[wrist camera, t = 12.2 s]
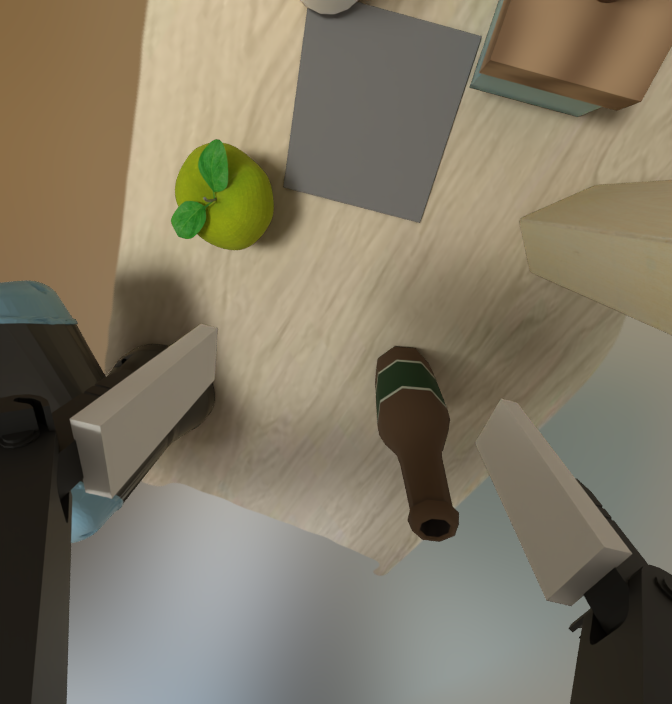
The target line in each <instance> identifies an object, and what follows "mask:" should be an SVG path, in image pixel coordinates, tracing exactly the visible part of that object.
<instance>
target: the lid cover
mask: <svg viewBox="0 0 672 704" xmlns="http://www.w3.org/2000/svg"><path fill="white" fill-rule="evenodd" d="M671 46H672V0H504V1H503V4H502V7H501V10H500V13H499V16H498V19H497V22H496V25H495V28H494V31H493V34H492V36H491V39H490V42H489V45H488V48H487V51H486V54H485V57H484V60H483V63H482V66H481V69H480V71H479V73H481V74H485V75H488V76H492V77H496V78H499V79H503V80H507V81H510V82H514V83H518V84H521V85H525V86H529V87H532V88H536V89H539V90H543V91H547V92H550V93H554V94H558V95H561V96H565V97H569V98H572V99H576V100H580V101H583V102H587V103H591V104H594V105H598V106H602V107H605V108H609V109H612V110H616V111H617V110H620V109H623V108H625V107H628V106H631V105H633V104H636V103H639V102H641V101H642V99H643V97H644V95H645V94H646V92H647V90H648V88H649V86H650V85H651V83H652V81H653V79H654V77H655V75H656V74H657V72H658V70H659V68H660V66H661V64H662V63H663V61H664V59H665V57H666V55H667V54H668V52H669V50H670V48H671Z"/></svg>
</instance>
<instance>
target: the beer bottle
mask: <svg viewBox="0 0 672 704" xmlns="http://www.w3.org/2000/svg"><path fill="white" fill-rule="evenodd" d="M375 388H376V407H377V425H378V431H379V435H380V437H381V439H382V440H383V442H384V443H385V445H386V446H387V447H389V448H390V449H391V450H392V451H393V452H394V453H395V454H396V455H397V457H398V460H399V462H400V465H401V470H402V475H403V479H404V484H405V489H406V493H407V498H408V503H409V507H410V512H409V516H408V522H409V525H410V527H411V529H412V531H413V532H414V533H415V534H417V535H418V536H419V537H420V538H421V539H422V540H429V541H438V542H440V541H443V540H445V539H448V538H450V537H452V536H455V533H456V530H457V528H458V525H459V512H458V511H456V510H455V509H454V508H453V507H452V502H451V497H450V493H449V488H448V483H447V479H446V474H445V469H444V465H443V460H442V451H443V449H444V445H445V441H446V438H447V434H448V429H449V423H450V418H449V414H448V410H447V407H446V404H445V402H444V399H443V397H442V394H441V392H440V389H439V387H438V384H437V382H436V379H435V377H434V374H433V372H432V369H431V367H430V365H429V363H428V362H427V361H426V360H425V359H424V357H423V356H422V355H421V354H420V353H419V352H418V350H417V349H416V348H406V347H393V348H392V349H390V350H389V351H388V352H386V353H385V354H383V355H382V356H381V357H379V358H378V360H377V369H376V378H375Z"/></svg>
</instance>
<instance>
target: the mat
mask: <svg viewBox="0 0 672 704" xmlns="http://www.w3.org/2000/svg"><path fill="white" fill-rule="evenodd" d="M481 37H482V36H479V35H475V34H471V33H468V32H464V31H461V30H457V29H453V28H450V27H446V26H442V25H439V24H435V23H432V22H428V21H424V20H421V19H417V18H413V17H410V16H406V15H403V14H399V13H395V12H392V11H388V10H385V9H381V8H377V7H374V6H370V5H366V4H363V3H359V2H356V3H354V4H353V5H352V6H351V7H350V8H349V9H347V10H345V11H342V12H339V13H337V14H320V13H318V12H316V11H314V10H312V9H310V8H307V15H306V22H305V30H304V37H303V45H302V52H301V60H300V67H299V75H298V82H297V90H296V97H295V105H294V112H293V120H292V127H291V135H290V142H289V149H288V157H287V164H286V172H285V179H284V188H288V189H292V190H296V191H300V192H304V193H307V194H311V195H315V196H319V197H323V198H327V199H330V200H334V201H338V202H342V203H346V204H350V205H353V206H357V207H361V208H365V209H369V210H373V211H376V212H380V213H384V214H388V215H392V216H396V217H399V218H403V219H407V220H411V221H415V222H419V223H420V221H421V218H422V215H423V212H424V209H425V206H426V203H427V200H428V197H429V194H430V191H431V187H432V184H433V181H434V178H435V175H436V172H437V169H438V166H439V163H440V160H441V157H442V154H443V151H444V148H445V145H446V142H447V139H448V136H449V133H450V130H451V127H452V124H453V121H454V118H455V115H456V112H457V109H458V106H459V103H460V100H461V97H462V94H463V91H464V88H465V85H466V82H467V79H468V76H469V73H470V70H471V67H472V64H473V61H474V58H475V55H476V52H477V49H478V46H479V43H480V40H481Z"/></svg>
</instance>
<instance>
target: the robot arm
mask: <svg viewBox="0 0 672 704" xmlns="http://www.w3.org/2000/svg"><path fill="white" fill-rule="evenodd" d="M76 324H77V321H76V319H73V318H72V316H71V315H70V314H69V312H68V310H67V309H66V308H65V306H64V304H63V303H62V301H61V300H60V298H59V297H58V295H57V293H56V292H55V291H54V290H53V289H51V288H50V287H49V286H47V285H45V284H43V283H39V282H36V281H14V282H4V283H0V704H66V701H67V699H66V698H67V666H68V633H69V632H68V631H69V598H70V597H69V596H70V563H71V543H74V542H78V541H81V540H84V539H86V538H88V537H90V536H92V535H93V534H94V533H95V532H97V531H98V530H99V529H100V528H101V527H102V526H103V525H104V523H105V522H106V521H107V520H108V519H109V518H110V517H111V516H112V515H113V514H114V512H115V511H117V510H119V509H120V508H121V507H122V505H123V503H124V502H125V500H126V499H127V498H128V497H129V495H130V494H131V493H132V491H133V490H134V489H135V488H136V487H137V485H138V484H139V483H140V481H141V480H142V479H143V478H144V476H145V475H146V474H147V473H148V471H149V470H150V469H151V468H152V466H153V465H154V464H155V462H156V461H157V460H158V459H159V457H160V456H161V455H162V454H163V452H164V451H165V450H166V449H167V447H168V446H169V445H170V444H171V443H172V442H173V441H175V440H177V439H178V438H180V437H181V436H183V435H184V434H186V433H187V432H189V431H191V430H193V429H195V428H196V427H198V426H199V425H200V424H201V423H202V422H203V421H204V420H205V418H206V417H207V416H208V414H209V413H210V412H211V410H212V408H213V405H214V401H215V393H214V388H213V384H212V382H213V381H214V380H215V369H216V351H217V334H218V328H216V327H212V326H208V325H204V324H200V325H198V326H197V327H196V328H194V329H193V330H192V331H190V332H189V333H187V334H186V335H185V336H183V337H182V338H180V339H179V340H178V341H176V342H175V343H174V344H172V345H171V346H165V345H158V344H150V345H144V346H140V347H138V348H136V349H134V350H132V351H131V352H129V353H128V354H126V355H125V356H123V357H122V358H121V359H120V360H119V361H118V362H117V363H116V365H115V366H114V368H113V369H112V371H111V372H110V374H109V375H108V376H107V377H106V376H105V374H104V373H103V371H102V369H101V367H100V366H99V364H98V362H97V360H96V359H95V357H94V355H93V353H92V352H91V350H90V348H89V347H88V345H87V343H86V341H85V340H84V337H83V336H82V334H81V332H80V330H79V328H78V326H77V325H76ZM475 444H476V447H477V449H478V451H479V453H480V455H481V458H482V460H483V462H484V464H485V466H486V469H487V471H488V473H489V475H490V477H491V479H492V482H493V484H494V486H495V488H496V490H497V493H498V495H499V497H500V499H501V501H502V504H503V506H504V508H505V510H506V512H507V515H508V517H509V519H510V521H511V523H512V526H513V528H514V530H515V532H516V534H517V537H518V539H519V541H520V543H521V545H522V548H523V550H524V552H525V554H526V556H527V558H528V561H529V563H530V565H531V567H532V570H533V572H534V574H535V576H536V578H537V581H538V583H539V585H540V587H541V589H542V591H543V594H544V596H545V598H546V600H547V601H551V602H555V603H560V604H564V605H568V606H572V605H573V604H574V603H575V602H577V601H578V600H579V599H580V598H581V597H582V596H585V598H586V600H587V602H588V604H589V605H590V607H591V608H590V609H589V610H588V611H587V612H586V613H584V614H583V615H582V616H581V617H579V618H578V619H577V620H576V621H574V622H573V623H572V624H571V626H570V627H569V629H570V630H571V631H572V632H574V631H575V630H576V629H578V628H582V631H581V636H580V637H579V638H580V644H579V651H578V657H577V663H576V669H575V676H574V682H573V689H572V695H571V701H570V704H672V575H671V574H669V573H668V572H666V571H664V570H662V569H660V568H658V567H655V566H652V565H648V564H647V562H646V561H645V560H644V558H643V557H642V556H641V555H640V553H639V552H638V551H637V550H636V548H635V547H634V546H633V545H632V543H631V542H630V541H629V539H628V538H627V537H626V535H625V534H624V533H623V532H622V530H621V529H620V528H619V527H618V525H617V524H616V523H615V521H613V520H611V516H610V515H609V514H608V512H607V511H606V510H605V509H603V508H602V505H601V504H600V502H599V501H598V500H597V499H596V497H595V496H594V495H593V493H592V492H591V491H590V490H589V489H588V488H586V487H585V486H584V485H583V484H582V483H581V482H580V481H579V480H578V479H576V478H574V476H573V475H572V474H571V472H570V471H569V470H568V469H567V467H566V466H565V465H564V463H563V462H562V461H561V459H560V458H559V457H558V455H557V454H556V453H555V452H554V450H553V449H552V447H551V446H550V445H549V444H548V443H547V441H546V440H545V438H544V437H543V436H542V434H541V433H540V432H539V430H538V429H537V428H536V426H535V425H534V424H533V423H532V421H531V420H530V419H529V417H528V416H527V415H526V413H525V412H524V411H523V409H522V408H521V407H520V405H519V404H518V403H517V402H513V401H509V400H505V399H500V401H499V403H498V404H497V406H496V408H495V410H494V411H493V413H492V415H491V416H490V418H489V420H488V421H487V423H486V425H485V426H484V428H483V430H482V432H481V433H480V435H479V437H478V438H477V440H476V442H475Z"/></svg>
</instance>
